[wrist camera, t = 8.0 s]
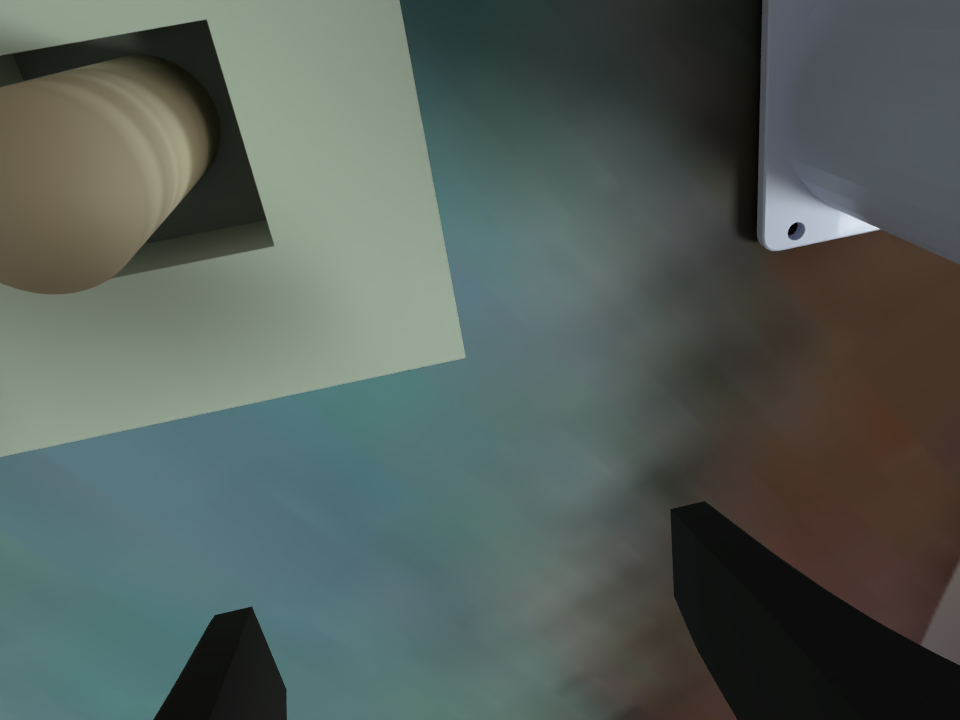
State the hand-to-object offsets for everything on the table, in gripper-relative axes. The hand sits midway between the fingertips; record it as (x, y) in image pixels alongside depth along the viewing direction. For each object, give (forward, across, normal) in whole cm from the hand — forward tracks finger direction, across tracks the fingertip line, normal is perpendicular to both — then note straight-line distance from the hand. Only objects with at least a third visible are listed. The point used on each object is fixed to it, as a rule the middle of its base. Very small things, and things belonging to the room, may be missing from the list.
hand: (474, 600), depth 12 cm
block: (+10, +5, -7) cm, 13 cm away
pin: (+9, +5, -7) cm, 13 cm away
